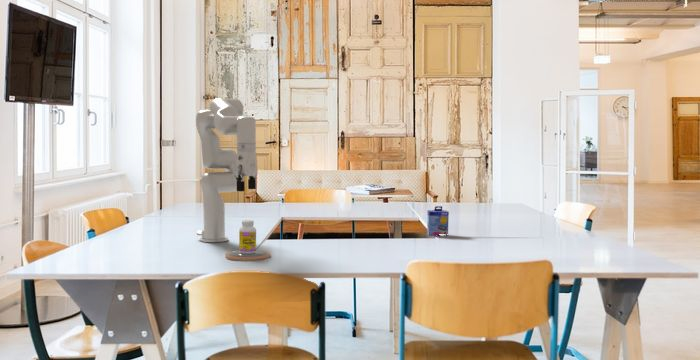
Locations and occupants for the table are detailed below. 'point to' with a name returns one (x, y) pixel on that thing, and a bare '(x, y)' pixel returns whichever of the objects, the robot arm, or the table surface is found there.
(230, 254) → the dish
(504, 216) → the table surface
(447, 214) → the ink cartridge box
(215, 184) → the robot arm
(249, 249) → the supplement bottle
